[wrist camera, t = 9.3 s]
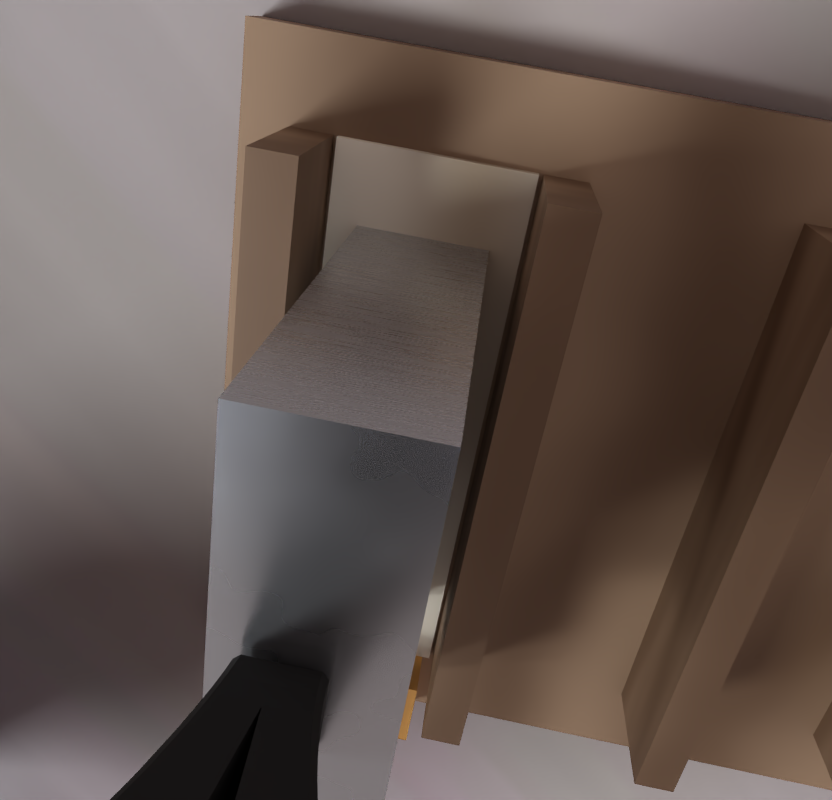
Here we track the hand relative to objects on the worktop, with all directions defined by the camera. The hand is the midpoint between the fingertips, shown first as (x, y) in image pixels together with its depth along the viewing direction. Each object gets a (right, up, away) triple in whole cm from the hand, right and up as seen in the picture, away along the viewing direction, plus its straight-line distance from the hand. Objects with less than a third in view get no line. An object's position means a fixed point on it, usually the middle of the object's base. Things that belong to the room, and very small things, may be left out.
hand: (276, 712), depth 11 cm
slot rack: (+7, +3, +9) cm, 12 cm away
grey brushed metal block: (+1, +4, +8) cm, 9 cm away
